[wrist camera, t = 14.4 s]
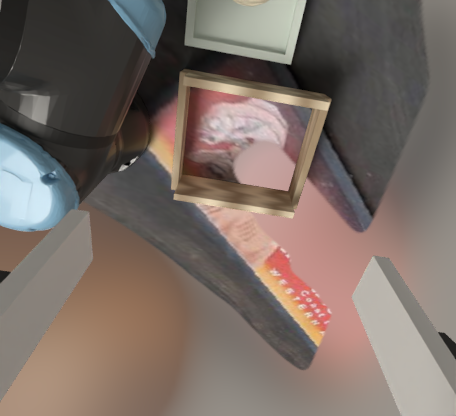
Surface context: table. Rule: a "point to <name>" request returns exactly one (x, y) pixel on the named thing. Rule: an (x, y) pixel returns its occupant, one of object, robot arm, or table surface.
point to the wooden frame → (235, 192)
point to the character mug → (250, 2)
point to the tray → (245, 28)
